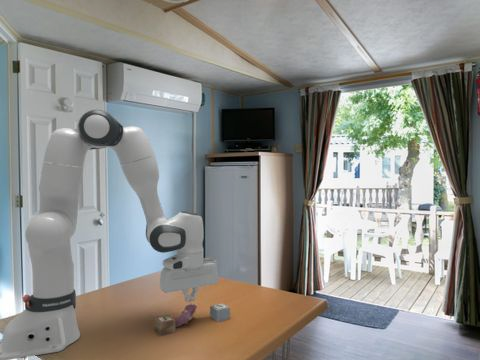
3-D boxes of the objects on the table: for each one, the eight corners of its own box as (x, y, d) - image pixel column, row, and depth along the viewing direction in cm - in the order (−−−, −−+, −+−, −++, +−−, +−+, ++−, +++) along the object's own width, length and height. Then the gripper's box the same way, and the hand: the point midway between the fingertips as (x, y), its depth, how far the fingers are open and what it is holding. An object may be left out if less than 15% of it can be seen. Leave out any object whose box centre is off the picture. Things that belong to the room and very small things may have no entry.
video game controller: (182, 333, 119) (192, 314, 119) (170, 325, 120) (180, 307, 119) (192, 321, 129) (201, 304, 128) (181, 314, 130) (189, 297, 129)
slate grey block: (217, 322, 124) (217, 309, 124) (210, 317, 129) (210, 305, 129) (229, 319, 127) (229, 306, 127) (222, 314, 131) (222, 302, 131)
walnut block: (160, 336, 114) (159, 322, 113) (154, 330, 118) (154, 317, 118) (175, 333, 116) (175, 319, 116) (169, 327, 120) (169, 314, 120)
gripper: (212, 254, 132) (212, 293, 132) (158, 261, 121) (157, 303, 121) (221, 257, 127) (221, 298, 127) (165, 265, 116) (165, 309, 116)
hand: (190, 300), depth 124 cm, fingers closed
